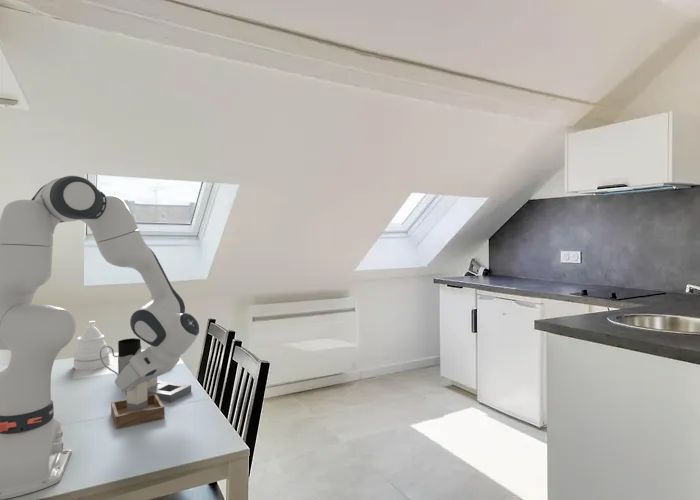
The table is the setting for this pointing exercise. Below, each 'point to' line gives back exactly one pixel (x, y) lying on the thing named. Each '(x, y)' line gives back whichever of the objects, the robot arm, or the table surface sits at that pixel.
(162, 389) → the fuse block
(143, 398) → the block
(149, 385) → the block
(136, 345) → the grey mug
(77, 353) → the honey pot
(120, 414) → the tray
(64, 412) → the table surface
